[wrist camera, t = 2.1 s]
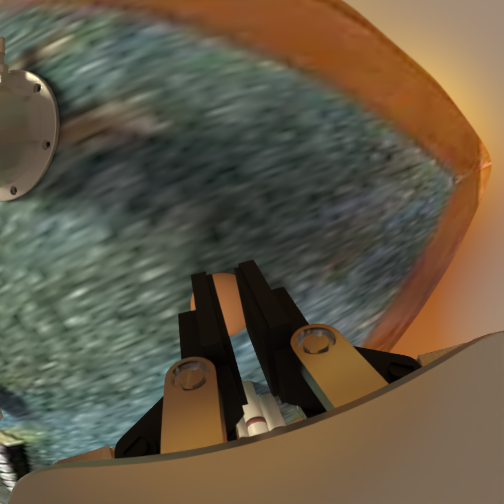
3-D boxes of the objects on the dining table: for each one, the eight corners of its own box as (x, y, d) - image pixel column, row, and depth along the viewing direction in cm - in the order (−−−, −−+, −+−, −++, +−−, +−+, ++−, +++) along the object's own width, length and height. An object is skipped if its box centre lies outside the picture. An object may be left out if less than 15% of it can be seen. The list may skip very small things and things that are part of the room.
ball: (182, 270, 29) (184, 303, 23) (241, 255, 29) (257, 285, 24) (197, 318, 31) (202, 356, 26) (250, 305, 32) (266, 339, 27)
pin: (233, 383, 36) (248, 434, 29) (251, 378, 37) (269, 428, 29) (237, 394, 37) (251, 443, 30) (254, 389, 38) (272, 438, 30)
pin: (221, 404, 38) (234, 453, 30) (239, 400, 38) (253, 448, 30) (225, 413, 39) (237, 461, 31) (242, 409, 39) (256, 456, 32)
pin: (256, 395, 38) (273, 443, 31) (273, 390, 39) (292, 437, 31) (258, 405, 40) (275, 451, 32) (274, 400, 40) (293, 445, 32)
